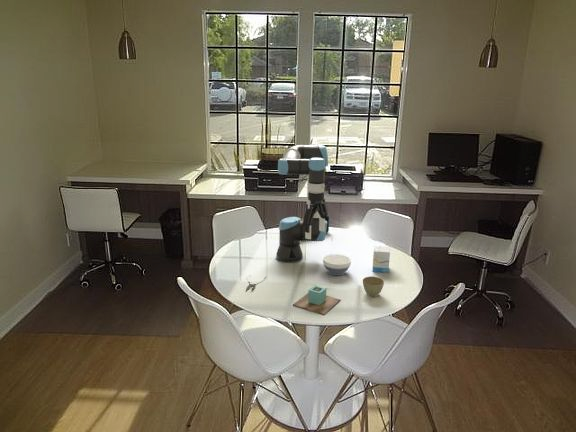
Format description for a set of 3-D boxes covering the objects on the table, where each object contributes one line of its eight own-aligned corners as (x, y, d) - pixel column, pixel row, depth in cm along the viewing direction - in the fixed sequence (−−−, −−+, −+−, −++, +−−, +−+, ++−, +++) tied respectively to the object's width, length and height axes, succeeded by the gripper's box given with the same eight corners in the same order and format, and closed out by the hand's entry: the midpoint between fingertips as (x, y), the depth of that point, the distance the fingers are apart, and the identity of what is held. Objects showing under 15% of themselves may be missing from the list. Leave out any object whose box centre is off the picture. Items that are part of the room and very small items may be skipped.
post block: (292, 305, 203) (293, 292, 201) (310, 292, 216) (310, 279, 214) (324, 315, 195) (324, 301, 193) (340, 300, 208) (341, 287, 206)
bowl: (334, 264, 248) (335, 252, 246) (355, 272, 239) (356, 259, 236) (317, 272, 239) (317, 258, 237) (338, 280, 229) (338, 266, 227)
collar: (308, 302, 204) (308, 290, 203) (314, 297, 209) (314, 285, 207) (319, 305, 201) (320, 293, 199) (325, 300, 206) (326, 288, 204)
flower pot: (359, 290, 218) (360, 276, 216) (379, 289, 219) (380, 276, 217) (364, 299, 209) (365, 285, 207) (385, 299, 210) (386, 285, 208)
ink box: (388, 273, 238) (390, 252, 235) (372, 271, 240) (373, 251, 237) (388, 266, 246) (389, 246, 243) (372, 265, 248) (373, 245, 245)
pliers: (266, 274, 235) (265, 291, 216) (266, 275, 235) (265, 292, 216) (247, 274, 235) (245, 291, 215) (247, 275, 235) (245, 292, 216)
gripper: (309, 198, 197) (309, 243, 203) (335, 187, 217) (333, 229, 223) (295, 195, 201) (294, 240, 207) (321, 185, 221) (320, 226, 227)
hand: (315, 234), depth 215 cm, fingers open, 13 cm apart
